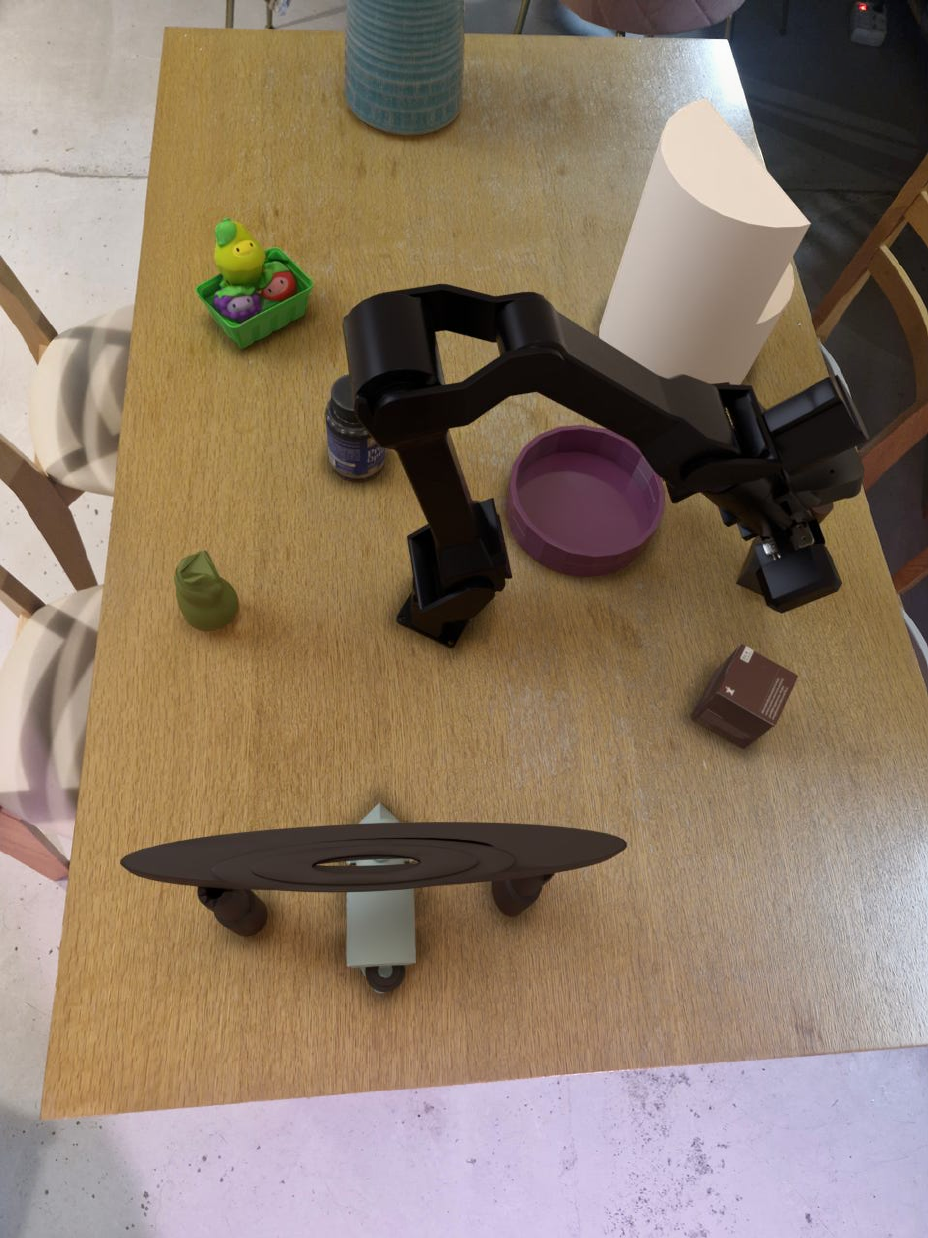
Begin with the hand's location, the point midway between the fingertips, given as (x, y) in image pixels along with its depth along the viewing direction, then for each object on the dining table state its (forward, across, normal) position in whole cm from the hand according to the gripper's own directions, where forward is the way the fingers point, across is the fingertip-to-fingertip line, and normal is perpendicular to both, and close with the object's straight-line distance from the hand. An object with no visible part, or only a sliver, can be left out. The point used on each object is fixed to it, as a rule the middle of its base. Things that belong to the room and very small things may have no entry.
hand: (802, 536), depth 84 cm
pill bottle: (-24, +19, +36) cm, 47 cm away
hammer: (+4, 0, +6) cm, 7 cm away
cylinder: (+4, +32, +7) cm, 33 cm away
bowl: (-8, +10, +19) cm, 23 cm away
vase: (-15, +79, +26) cm, 84 cm away
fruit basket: (-30, +40, +42) cm, 66 cm away
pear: (-35, +2, +47) cm, 58 cm away
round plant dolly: (-26, -26, +38) cm, 53 cm away
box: (-1, -14, +12) cm, 19 cm away
